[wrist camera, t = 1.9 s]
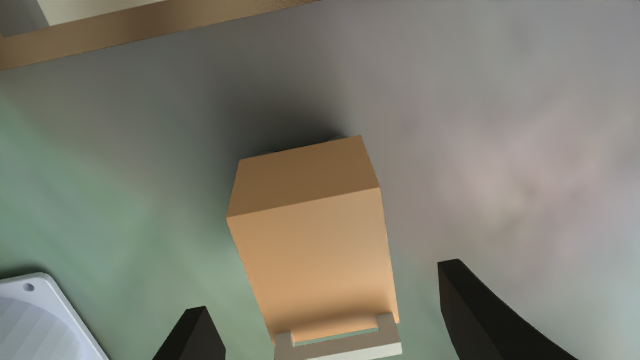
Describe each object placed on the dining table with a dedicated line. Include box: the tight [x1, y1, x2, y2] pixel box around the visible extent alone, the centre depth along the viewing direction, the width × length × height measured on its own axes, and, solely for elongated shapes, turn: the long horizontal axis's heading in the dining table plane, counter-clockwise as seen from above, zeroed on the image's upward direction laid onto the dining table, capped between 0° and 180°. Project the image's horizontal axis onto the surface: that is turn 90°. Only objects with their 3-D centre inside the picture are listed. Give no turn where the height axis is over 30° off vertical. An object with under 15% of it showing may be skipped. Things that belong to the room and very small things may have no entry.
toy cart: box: [225, 135, 402, 360], centre depth 16 cm, size 6×5×6 cm
